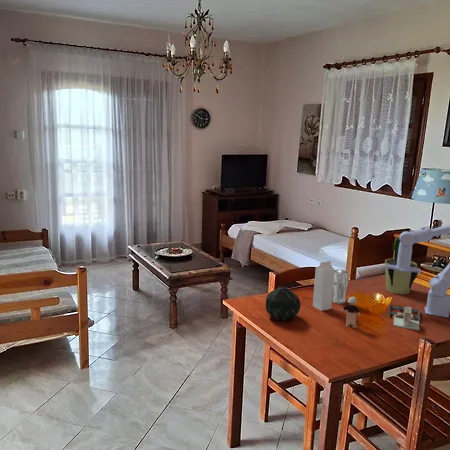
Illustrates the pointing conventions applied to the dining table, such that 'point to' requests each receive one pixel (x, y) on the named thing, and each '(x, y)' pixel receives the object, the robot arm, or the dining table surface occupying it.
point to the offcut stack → (402, 316)
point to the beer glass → (340, 286)
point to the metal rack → (403, 309)
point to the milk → (323, 286)
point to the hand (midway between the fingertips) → (400, 286)
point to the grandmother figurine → (351, 312)
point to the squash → (282, 304)
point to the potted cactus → (398, 274)
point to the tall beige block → (407, 316)
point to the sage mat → (413, 325)
